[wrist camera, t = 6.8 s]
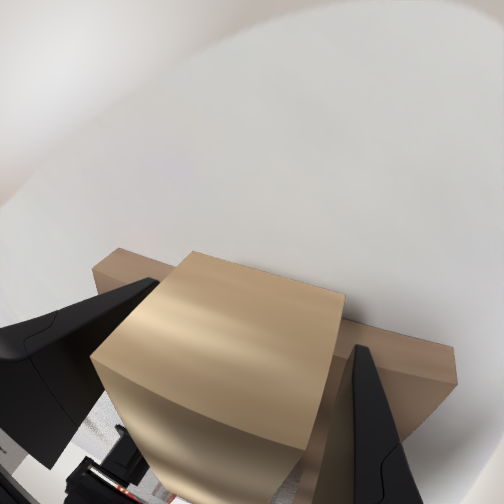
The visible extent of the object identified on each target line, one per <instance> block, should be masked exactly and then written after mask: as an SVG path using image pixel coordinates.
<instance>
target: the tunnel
mask: <svg viewBox="0 0 504 504" xmlns="http://www.w3.org/2000/svg"><path fill="white" fill-rule="evenodd" d="M302 474H303V470H299V469H295V468H293V469H292V471H291V472H290V473H289V475H288V476H287V477H286V479H285V480H284V482H283V483H282V484H281V486H280V487H279V488H278V490H277V491H276V492H275V493H274V495H273V496H272V498H271V500H270V503H269V504H292V502H293V499H294V496H295V494H296V491H297V488H298V485H299V483H300V480H301V477H302ZM126 490H127V491H128V492H129V493H131V494H132V495H133V496H134V497H135V498H137V499H138V500H139V501H140V502H142V503H143V504H168V503H166V502H167V500H168V499H169V497H170V495H171V494H172V492H170V491H168V490H166V489H165V487H164V486H163V484H162V483H161V482H160V480H159V479H158V477H157V476H156V475H155V473H154V472H153V470H152V469H151V467H150V468H149V470H148V471H147V473H146V474H145V476H144V477H143V479H142V480H141V482H140V483H139V485H138V486H135V485H133V484H131V483H130V485H129V486H128V487H127V489H126Z"/></svg>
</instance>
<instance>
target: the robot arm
mask: <svg viewBox="0 0 504 504" xmlns="http://www.w3.org/2000/svg"><path fill="white" fill-rule="evenodd" d="M159 284H160V281H159V280H157V279H154V278H152V277H146V278H144V279H141V280H138V281H135V282H133V283H130V284H127V285H124V286H122V287H119V288H116V289H113V290H111V291H108V292H105V293H102V294H100V295H97V296H94V297H92V298H89V299H86V300H83V301H81V302H78V303H75V304H73V305H70V306H67V307H65V308H62V309H60V310H56V311H54V312H51V313H48V314H46V315H43V316H40V317H37V318H34V319H30V320H27V321H24V322H20V323H17V324H13V325H10V326H6V327H3V328H0V504H40V503H39V502H38V501H37V500H35V499H34V498H33V497H32V496H31V495H30V494H29V493H28V492H27V491H26V490H25V489H24V488H23V487H22V486H21V485H20V484H19V483H18V482H17V481H16V480H15V479H14V478H13V477H12V476H11V475H12V473H13V472H14V471H15V470H16V469H17V467H18V466H19V465H20V464H21V462H22V461H23V460H24V459H25V457H26V456H27V455H28V454H30V455H31V456H32V457H34V458H35V459H36V460H37V461H39V462H40V463H41V464H42V465H44V466H45V467H46V468H48V469H49V470H51V468H52V467H53V466H54V464H55V463H56V461H57V460H58V458H59V457H60V455H61V454H62V452H63V451H64V449H65V448H66V446H67V445H68V443H69V442H70V440H71V439H72V437H73V436H74V434H75V433H76V431H77V430H78V428H79V427H80V425H81V424H82V422H83V421H84V419H85V418H86V416H87V415H88V414H89V412H90V411H91V409H92V408H93V406H94V405H95V403H96V402H97V401H98V399H99V398H100V396H101V395H102V393H103V392H104V391H105V388H104V386H103V384H102V382H101V380H100V378H99V376H98V373H97V371H96V369H95V367H94V365H93V363H92V360H91V358H90V356H91V355H92V354H93V352H94V351H95V350H96V349H97V348H98V347H99V346H100V345H101V344H102V343H103V342H104V341H105V340H106V339H107V338H108V336H109V335H110V334H111V333H112V332H113V331H114V330H115V329H116V328H117V327H118V326H119V325H120V324H121V323H122V322H123V321H124V320H125V319H126V318H127V317H128V316H129V315H130V314H131V312H132V311H133V310H134V309H135V308H136V307H137V306H138V305H139V304H140V303H141V302H142V301H143V300H144V299H145V298H146V297H147V296H148V295H149V294H150V293H151V292H152V291H153V290H154V289H155V288H156V287H157V286H158V285H159ZM115 429H116V430H117V432H118V433H119V435H120V436H121V437H120V438H119V439H118V441H117V442H116V443H115V445H114V446H113V448H112V449H111V450H110V452H109V453H108V454H107V456H106V457H105V459H104V460H103V461H102V463H101V464H100V465H98V464H97V463H96V462H94V460H92V459H91V458H89V457H87V456H85V458H84V459H83V461H82V462H81V463H80V464H79V466H78V467H77V468H76V469H75V470H74V471H73V472H72V473H71V474H70V476H68V478H67V479H66V483H67V486H66V490H65V493H66V494H68V496H67V497H66V498H65V500H64V503H63V504H143V503H142V502H140V501H139V500H138V501H137V500H135V499H133V498H132V497H130V496H128V495H127V494H125V493H123V492H122V491H120V490H119V489H117V488H116V487H114V486H113V485H111V484H110V483H108V482H107V481H105V480H104V479H102V478H101V477H99V476H98V475H96V474H95V473H94V472H92V471H91V470H90V469H91V468H93V469H95V470H96V471H98V472H99V473H100V474H102V475H103V476H105V477H106V478H108V479H109V480H111V481H112V482H114V483H115V484H117V485H118V486H120V487H121V488H123V489H124V490H126V489H127V487H128V486H129V485H130V483H131V484H133V485H135V486H138V485H139V483H140V482H141V480H142V479H143V477H144V476H145V474H146V473H147V471H148V470H149V468H150V466H149V464H148V463H147V461H146V460H145V458H144V457H143V455H142V453H141V452H140V450H139V449H138V447H137V445H136V444H135V442H134V441H133V439H132V437H131V436H130V434H129V432H128V431H127V430H126V429H124V428H122V427H120V426H119V425H117V424H116V425H115ZM400 441H401V439H400V436H399V433H398V430H397V427H396V423H395V420H394V417H393V414H392V411H391V408H390V405H389V402H388V399H387V396H386V393H385V390H384V387H383V385H382V382H381V379H380V376H379V373H378V371H377V368H376V365H375V362H374V360H373V357H372V354H371V351H370V349H369V347H368V346H365V345H361V344H355V345H354V347H353V349H352V351H351V353H350V355H349V358H348V360H347V362H346V365H345V368H344V372H343V375H342V379H341V382H340V386H339V389H338V392H337V396H336V399H335V402H334V406H333V410H332V414H331V419H330V424H329V430H328V435H327V440H326V445H325V449H324V454H323V458H322V463H321V467H320V472H319V476H318V480H317V484H316V488H315V492H314V496H313V500H312V503H311V504H424V503H423V501H422V498H421V496H420V493H419V491H418V488H417V486H416V484H415V481H414V478H413V476H412V473H411V471H410V468H409V465H408V462H407V459H406V456H405V453H404V449H403V446H402V443H401V442H400ZM399 442H400V443H399ZM126 491H127V490H126Z"/></svg>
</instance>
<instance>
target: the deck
mask: <svg viewBox="0 0 504 504" xmlns="http://www.w3.org/2000/svg"><path fill="white" fill-rule="evenodd" d="M175 268H176V267H173V266H170V265H167V264H164V263H161V262H158V261H155V260H152V259H149V258H146V257H143V256H140V255H138V254H135V253H132V252H129V251H126V250H123V249H121V248H118V249H116V250H115V251H114V252H112V253H111V254H110V255H109V256H107V257H106V258H105V259H103V260H102V261H101V262H99V263H98V264H97V265H96V266H94V267H93V268H92V272H93V276H94V280H95V284H96V288H97V291H98V295H100V294H102V293H105V292H108V291H111V290H113V289H116V288H119V287H122V286H124V285H127V284H130V283H133V282H135V281H138V280H141V279H144V278H146V277H152V278H154V279H157V280H159V281H160V283H161V282H162V281H163V280H164V279H165V278H166V277H167V276H168V275H169V274H170V273H171V272H172V271H173V270H174V269H175ZM355 344H361V345H365V346H368V347H369V349H370V351H371V354H372V357H373V360H374V362H375V365H376V368H377V371H378V373H379V376H380V379H381V382H382V385H383V387H384V390H385V393H386V396H387V399H388V402H389V405H390V408H391V411H392V414H393V417H394V420H395V423H396V427H397V430H398V433H399V436H400V439H401V441H400V442H402V441H404V440H405V439H406V438H407V437H408V436H409V435H410V434H411V433H412V432H413V431H414V430H415V429H416V428H417V427H418V426H419V425H420V424H421V423H422V422H423V421H424V420H425V419H426V418H427V417H428V416H429V415H430V414H431V413H432V412H433V411H434V410H435V409H436V408H437V407H438V406H439V405H440V404H441V403H442V402H443V400H444V399H445V398H446V397H447V396H448V395H449V394H450V393H451V391H452V390H453V389H454V388H455V387H456V386H457V384H458V383H457V373H456V365H455V357H454V349H453V347H450V346H446V345H441V344H437V343H433V342H429V341H425V340H421V339H417V338H413V337H409V336H405V335H401V334H398V333H394V332H390V331H386V330H382V329H379V328H375V327H371V326H367V325H364V324H360V323H356V322H353V321H349V320H346V319H342V318H341V321H340V326H339V330H338V335H337V339H336V343H335V348H334V352H333V356H332V360H331V364H330V368H329V372H328V376H327V379H326V383H325V387H324V391H323V394H322V398H321V401H320V405H319V408H318V412H317V415H316V418H315V422H314V425H313V428H312V432H311V435H310V438H309V441H308V444H307V447H306V450H305V452H304V453H303V455H302V456H301V458H300V459H299V461H298V462H297V463H296V465H295V466H294V468H295V469H299V470H303V474H302V477H301V480H300V483H299V485H298V488H297V491H296V494H295V496H294V499H293V502H292V504H311V503H312V500H313V496H314V492H315V488H316V484H317V480H318V476H319V472H320V467H321V463H322V458H323V454H324V449H325V445H326V440H327V435H328V430H329V424H330V419H331V414H332V410H333V406H334V402H335V399H336V396H337V392H338V389H339V386H340V382H341V379H342V375H343V372H344V368H345V365H346V362H347V360H348V358H349V355H350V353H351V351H352V349H353V347H354V345H355ZM400 442H399V443H400ZM271 498H272V497H271ZM270 500H271V499H270ZM270 500H269V501H268V502H267V504H269V503H270Z"/></svg>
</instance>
